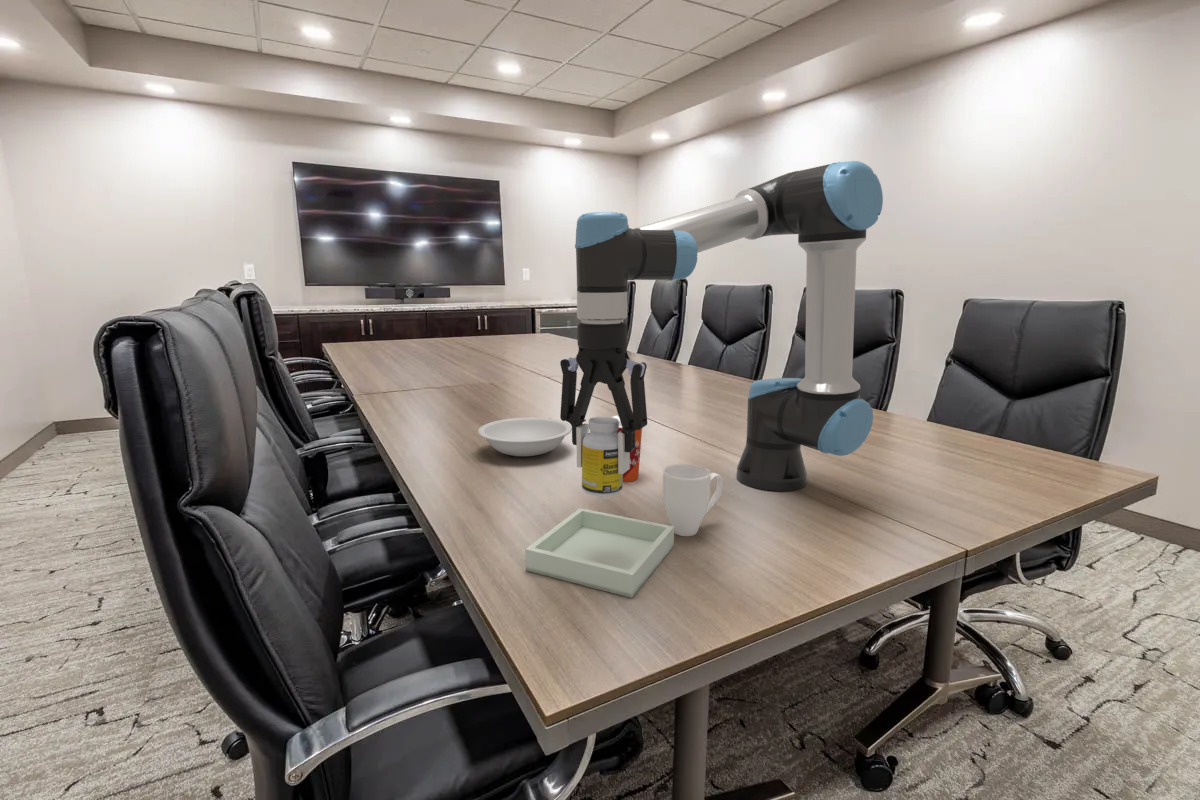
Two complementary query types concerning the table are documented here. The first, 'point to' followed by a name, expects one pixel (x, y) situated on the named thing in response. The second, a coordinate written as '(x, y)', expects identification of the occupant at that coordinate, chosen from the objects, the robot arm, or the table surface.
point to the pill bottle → (601, 458)
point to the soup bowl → (525, 435)
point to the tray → (601, 551)
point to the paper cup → (632, 455)
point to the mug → (688, 496)
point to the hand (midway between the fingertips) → (603, 467)
